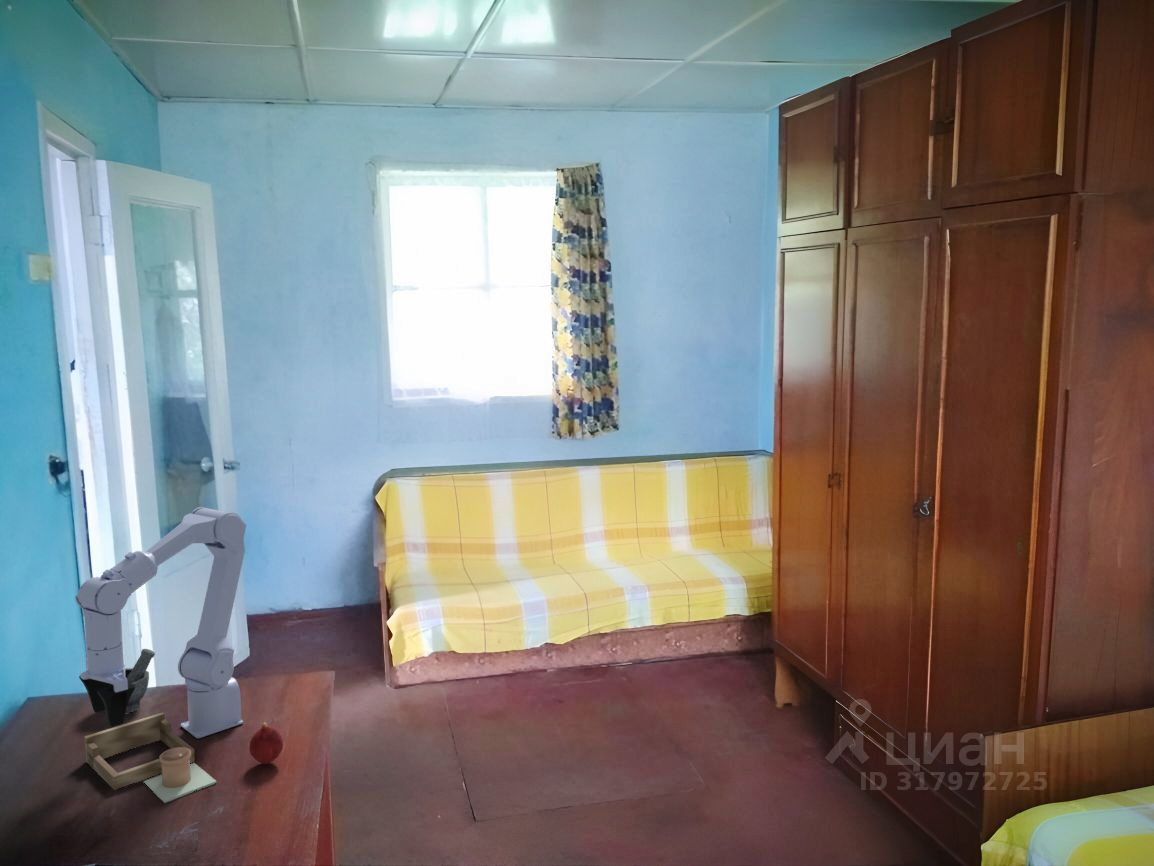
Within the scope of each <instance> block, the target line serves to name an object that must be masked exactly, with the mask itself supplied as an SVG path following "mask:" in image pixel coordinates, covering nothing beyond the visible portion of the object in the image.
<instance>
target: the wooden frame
mask: <svg viewBox="0 0 1154 866" xmlns="http://www.w3.org/2000/svg"><path fill="white" fill-rule="evenodd" d="M165 716H166V715H165V713H164V712H160V713H156V714H153V715H150V716H146V717H144V718H141V719H136V720H133V721H130V722H127V723H122V724H119V725H116V726H113V727H111V728H106V729H104V730H101V731H98V732H95V733H91V734H88V735H84V749H85V750H84V751H85V763H88V764H89V765H88V766H89V767H90V768H91V769H92V770H93V769H94V770H95V771H96V772H97V773H98V774H97V773H96V772H95V771H94V770H93V771H94V772H95V773H96V774H97V775H98V776H99V775H100V776H101V777H102V778H103V779H104V780H105V781H106V782H107V783H108V784H109V785H110V786H111V787H112V788H113V789H114V790H115V791H117V790H116V789H118V788H121V787H123V786H126V785H128V784H132V783H134V782H137V781H140V780H143V779H146V780H148V779H147V778H149V779H151V778H153V777H152V776H154V777H156V776H159V774H160V775H162V766H161V764H160V758H157V759H154V760H152V761H149V762H146V763H143V764H140V765H136V766H134V767H131V768H128V769H125V770H122V771H120V772H118V771H116V769H114V768H113V767H112V766H111V764H109V763H108V762H107V761H106V760H105V759H107V758H110V756H111V757H113V755H114V756H116V755H115V754H117V755H119V754H118V753H120V752H123V753H125V752H124V751H126V750H128V749H131V748H134V747H138V746H141V745H144V746H146V745H145V744H147V745H149V744H148V743H150V744H152V743H151V742H153V743H156V742H159V741H161V742H162V743H164V745H166V746H167V747H168V748H169V749H173V748H179V747H184V748H188V749H190V750H191V758H190V763H191V764H193V763H195V762H196V761H195V759H196V757H195V748H193V747H192V746H191V745H189V744H188V743H187V742H186V741H185V740H183V739H182V738H181V737H179V736H178V735H177V734H176V733H175V732H173V731H172V730H173V729H172V723H171V722H170V721H168V720H167V719H166V717H165ZM155 741H156V742H155ZM141 747H142V746H141ZM138 748H139V747H138ZM126 752H127V751H126ZM120 754H121V753H120ZM192 762H193V763H192ZM100 776H99V777H100ZM101 777H100V778H101ZM150 777H151V778H150ZM102 778H101V779H102ZM103 779H102V780H103ZM104 780H103V781H104ZM105 781H104V782H105ZM143 781H144V780H143ZM106 782H105V783H106ZM140 782H141V781H140ZM107 783H106V784H107ZM137 783H138V782H137ZM108 784H107V785H108ZM109 785H108V786H109ZM132 785H133V784H132ZM110 786H109V787H110ZM111 787H110V788H111ZM126 787H127V786H126ZM112 788H111V789H112ZM113 789H112V790H113ZM121 789H122V788H121ZM114 790H113V791H114ZM118 790H119V789H118Z"/></svg>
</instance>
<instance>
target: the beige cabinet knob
mask: <svg viewBox="0 0 1154 866" xmlns="http://www.w3.org/2000/svg"><path fill="white" fill-rule="evenodd" d="M190 758H191V750H190V749H188V748H184V747H179V748H173V749H171V748H169V749H167V750H165V751H163V752H161V754H160V755H159V759H160V764H161V766H162V774H161V775H162V785H163V786H164V787H167V788H176V787H180V786H183V785H185V784H187V783H188V782H189V781H190V780H191V770H190Z"/></svg>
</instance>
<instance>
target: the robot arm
mask: <svg viewBox="0 0 1154 866" xmlns="http://www.w3.org/2000/svg"><path fill="white" fill-rule="evenodd" d="M246 529H247V524H246V523H245V521H244V520H243V519H242V517H241V516H240V515H239V514H238V513H236V512H234V511H223V510H218V509H214V508H208V507H206V506H199V507H196V508H195V509H193V510H192V511H191V512H190V513H188V514H185V515H184V516H183V517H182V521H181V522H180V523H179V524H178V525H177V526H175V528H173V529H172V530H171V531H169V532H168V533H167V534H165V535H164V537H162V538H161V539H159V540H158V541H157V542H156V543H155V544H153V545H152V546H151V547H150V548H148V549H147V550H146V551H141V550H140V551H139V550H136V551H134V552H128V553H127V554H125V555H124V559H122V560H121V561H120V562H119V563H117V564H115V565H114V566H112V567H111V568H109V569H106V570H104V571H102V574H101V575H100V576H96V577H95V576H93V577H90V578H88V579H86V581H84V582H83V583H82V584H81V586H80V587H79V589H78V592H77V595H75V597H74V599H75V602H76V604H77V606H79V607H80V608H81V610H82V614H83V615H82V616H83V617H84V632H85V633H84V634H85V649H86V650H85V651H86V658H85V669H86V671H82V672H80V673H79V676H78V678H79V680H80V681H81V682H82V684H83V685H84V688H85V689H86V692H87V694H88V698H89V701H90V704H91V708H92V709H93V711H94V713H96V714H98V713H100V712H103V711H105V713H106V718H107V722H108V725H109V726H110V727H111V728H113V727H117V726H120V725H123V724H124V721H125V718H126V715H127V714H126V709H127V705H128V702H129V699H130V697H131V695H132V693H133V691H134V690H135V685H133V684H132V683H130V684H128V682H127V678H126V677H125V669H126V664H125V663H124V662H125V660H124V645H123V644H124V643H123V627H122V610H123V609H124V607H125V606H126V604H127V602H128V599H129V598H130V596H132V594H133V593H134V592H136V591H137V590H138V589H140V588H141V587H142V586H145V584H146V583H147V582H149V581H150V580H152V579H153V578H154V577H155V576H157V573H158V569H159V567H158V566H160V565H161V564H164V562H167V561H168V560H169V559H172V558H173V557H174V556H176V555H178V553H180V552H181V551H184V550H185V549H186V548H188V547H189V546H191V545H193V544H204V545H205V547H207V549H208V550H209V552H210V553H211V554H212V555H213V561H212V566H211V571H210V576H209V578H208V585H207V588H206V589H207V590H206V594H205V598H204V602H203V607H202V611H201V616H200V620H199V625H198V631H197V633H196V635H194V636H193V637H192V638H190V639H189V640H188V641H187V642H186V645H185V649H184V651H183V653H182V655H181V656H180V657H179V660H178V663H177V671H178V673H179V675H180V677H181V678H183V679H184V684H185V685H186V691H187V692H186V694H187V715H188V716H187V717H188V720H187V721H184V722H181V724H180V727H182V728H183V729H184V730H185V731H187V732H188V733H189V734H191V736H193V737H195V738H196V739H201V738H204V737H206V736H210V735H213V734H216V733H218V732H219V733H220V732H222V731H225V730H228V729H230V728H233V727H236V726H240V725H242V724H243V723H244V720H243V719H242V704H241V703H242V701H241V700H242V699H241V690H240V685H239V683H238V680H237V679H236V678H235V677H233V674H234V669H235V663H234V651H235V650H234V648H233V646H232V645H231V643H230V641H229V640H228V638H227V637H228V632H229V626H230V621H231V617H232V613H233V608H234V603H235V599H236V594H237V590H238V584H239V580H240V575H241V571H242V566H243V562H244V557H245V551H246V550H245V548H246V547H245V541H244V540H245V539H244V538H245V534H246Z"/></svg>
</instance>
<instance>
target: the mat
mask: <svg viewBox="0 0 1154 866" xmlns="http://www.w3.org/2000/svg"><path fill="white" fill-rule="evenodd" d="M190 770H191V780H190V781H189V782H188V783H187V784H185V785H183V786H180V787H176V788H167V787H164V786H163V785H162V774H160V775H157V776H154V777H151V778H149V779H146V780H143V784H144V783H145V784H146V785H147V786H148V787H149V788H150V789H151V790H152V791H153V792H152V793H153V794H155V795H156V796H157V797H158V798H159V800H161V801H162V802H163V803H164V804H167V803H168V802H171V801H174V800H176V799H178V798H181V797H184V796H187V795H189V794H192V793H195V792H197V791H199V790H202V788H203V789H206V788H207V787H210V786H212V785H215V783H216V784H217V780H216V779H214V778H213V777H212V776H211V775H210V774H209V773H207V772H206V771H205V770H204V769H202V767H201V766H199V765H198V764H197V763H195V762H193V763H191V764H190ZM145 784H144V785H145ZM146 785H145V786H146ZM147 786H146V787H147ZM148 787H147V788H148ZM149 788H148V789H149ZM150 789H149V790H150ZM151 790H150V791H151ZM196 790H197V791H196ZM194 791H195V792H194Z"/></svg>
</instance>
